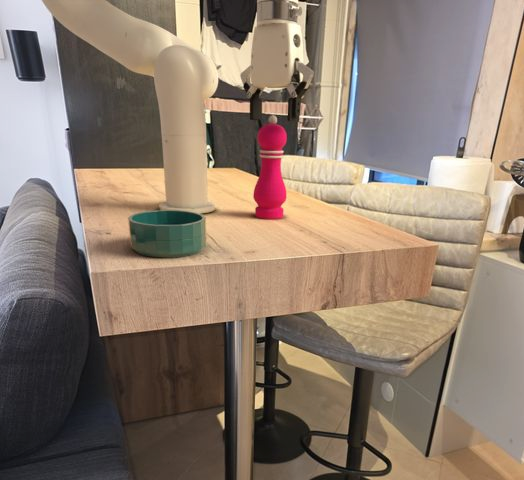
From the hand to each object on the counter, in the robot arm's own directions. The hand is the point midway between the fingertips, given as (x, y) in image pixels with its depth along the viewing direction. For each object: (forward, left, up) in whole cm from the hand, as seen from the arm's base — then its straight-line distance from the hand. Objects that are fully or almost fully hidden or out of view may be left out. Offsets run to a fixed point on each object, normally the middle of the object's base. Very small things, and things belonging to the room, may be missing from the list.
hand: (274, 120), depth 92 cm
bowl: (+21, -26, -19) cm, 39 cm away
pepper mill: (0, 0, -19) cm, 19 cm away
